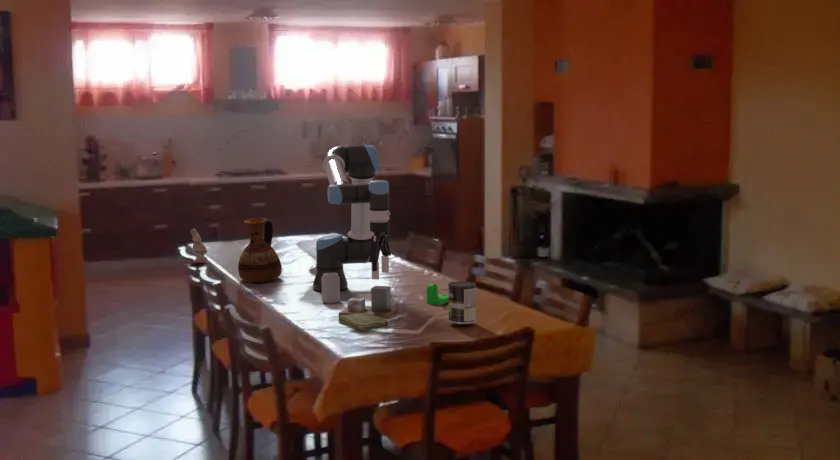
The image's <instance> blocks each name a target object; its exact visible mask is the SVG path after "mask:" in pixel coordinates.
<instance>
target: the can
mask: <svg viewBox="0 0 840 460" xmlns="http://www.w3.org/2000/svg"><path fill="white" fill-rule="evenodd" d="M321 280H322V290H321V300H322V302H323V303H324V304H328V305H329V304H337V303H339V302H340V301H341V290H340V277H339V276H338V273H324V274H323V276H322V278H321Z"/></svg>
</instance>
